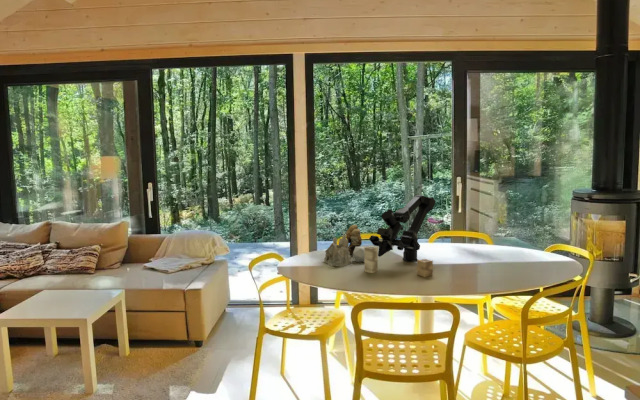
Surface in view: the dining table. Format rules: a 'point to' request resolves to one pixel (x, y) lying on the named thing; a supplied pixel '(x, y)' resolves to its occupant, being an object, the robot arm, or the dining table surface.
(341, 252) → the jagged grey rock
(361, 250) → the die
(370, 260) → the cream two-panel pillar
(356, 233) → the brown lumpy rock
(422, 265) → the oak block
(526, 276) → the dining table surface
